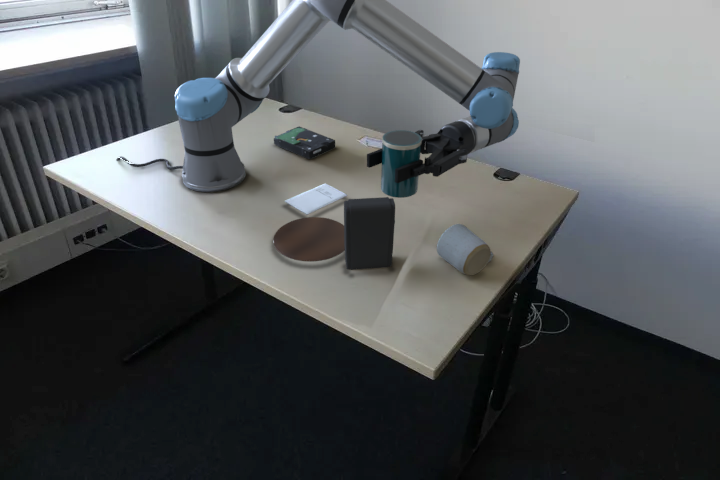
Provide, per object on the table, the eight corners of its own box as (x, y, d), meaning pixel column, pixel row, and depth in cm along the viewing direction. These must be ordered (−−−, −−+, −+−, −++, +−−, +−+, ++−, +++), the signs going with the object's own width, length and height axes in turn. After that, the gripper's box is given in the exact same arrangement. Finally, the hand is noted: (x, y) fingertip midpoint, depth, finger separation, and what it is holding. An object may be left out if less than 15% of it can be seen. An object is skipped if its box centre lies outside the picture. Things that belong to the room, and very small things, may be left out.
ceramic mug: (463, 283, 97) (469, 250, 92) (433, 261, 102) (438, 229, 98) (501, 264, 102) (509, 232, 97) (471, 245, 107) (477, 213, 103)
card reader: (389, 259, 102) (393, 194, 94) (393, 272, 99) (397, 205, 91) (344, 262, 102) (343, 196, 93) (346, 275, 98) (345, 208, 90)
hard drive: (284, 206, 119) (324, 188, 126) (307, 220, 114) (347, 200, 121) (283, 200, 118) (324, 182, 125) (306, 213, 113) (347, 194, 120)
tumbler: (375, 193, 102) (376, 142, 96) (387, 177, 108) (389, 127, 102) (412, 200, 100) (415, 148, 94) (422, 183, 106) (426, 133, 100)
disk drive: (336, 149, 145) (299, 134, 153) (336, 139, 143) (299, 125, 151) (310, 161, 138) (272, 145, 146) (309, 151, 137) (272, 135, 144)
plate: (259, 256, 103) (258, 250, 102) (295, 216, 115) (294, 211, 115) (333, 274, 98) (333, 268, 98) (362, 231, 111) (362, 225, 110)
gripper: (497, 170, 106) (418, 206, 94) (426, 139, 119) (348, 167, 107) (503, 136, 102) (421, 169, 90) (429, 107, 114) (348, 133, 102)
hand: (382, 168), depth 98 cm, fingers closed on tumbler, 7 cm apart
